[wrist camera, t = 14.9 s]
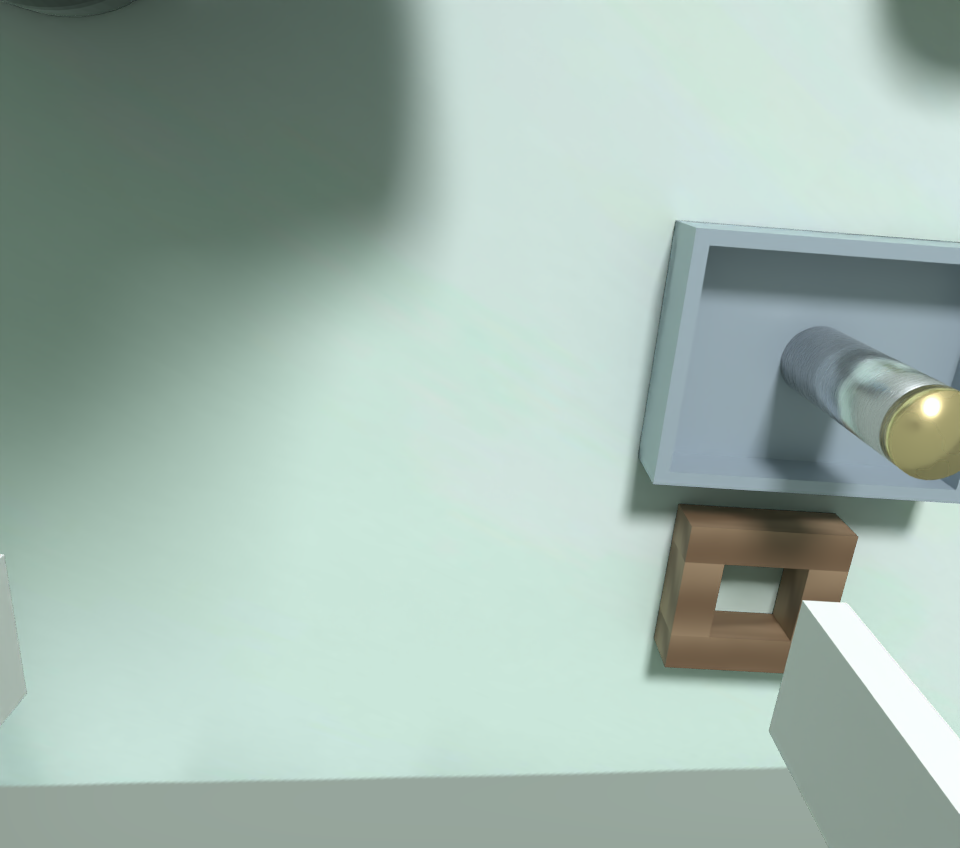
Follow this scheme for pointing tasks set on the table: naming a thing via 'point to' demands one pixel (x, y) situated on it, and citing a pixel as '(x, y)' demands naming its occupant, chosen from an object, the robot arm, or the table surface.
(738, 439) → the tray
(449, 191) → the table surface
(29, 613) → the table surface
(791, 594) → the socket block
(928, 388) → the pin
